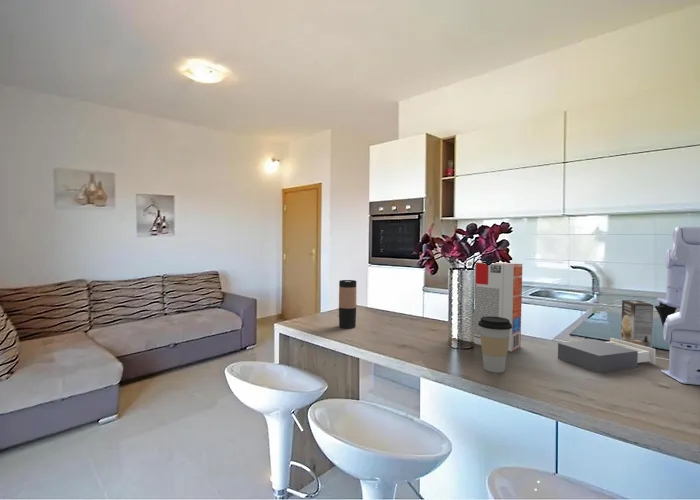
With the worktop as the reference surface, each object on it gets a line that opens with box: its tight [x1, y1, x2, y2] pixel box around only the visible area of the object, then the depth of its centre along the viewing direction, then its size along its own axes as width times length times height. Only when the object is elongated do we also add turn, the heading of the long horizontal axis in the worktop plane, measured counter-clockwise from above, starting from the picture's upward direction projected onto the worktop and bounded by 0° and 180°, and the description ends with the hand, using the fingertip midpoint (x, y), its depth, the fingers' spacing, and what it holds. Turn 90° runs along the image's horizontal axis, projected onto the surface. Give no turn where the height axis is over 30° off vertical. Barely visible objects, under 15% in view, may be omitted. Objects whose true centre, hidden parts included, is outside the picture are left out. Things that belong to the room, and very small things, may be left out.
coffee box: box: [620, 299, 654, 348], centre depth 137 cm, size 9×6×16 cm
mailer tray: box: [605, 337, 656, 365], centre depth 120 cm, size 20×14×5 cm
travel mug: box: [338, 279, 358, 330], centre depth 161 cm, size 8×8×20 cm
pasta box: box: [468, 260, 523, 352], centre depth 138 cm, size 23×8×30 cm, turn 46°
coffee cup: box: [478, 316, 512, 374], centre depth 109 cm, size 9×9×15 cm
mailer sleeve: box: [557, 338, 638, 374], centre depth 117 cm, size 16×14×5 cm
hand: (676, 331), depth 116 cm, fingers open, 7 cm apart
